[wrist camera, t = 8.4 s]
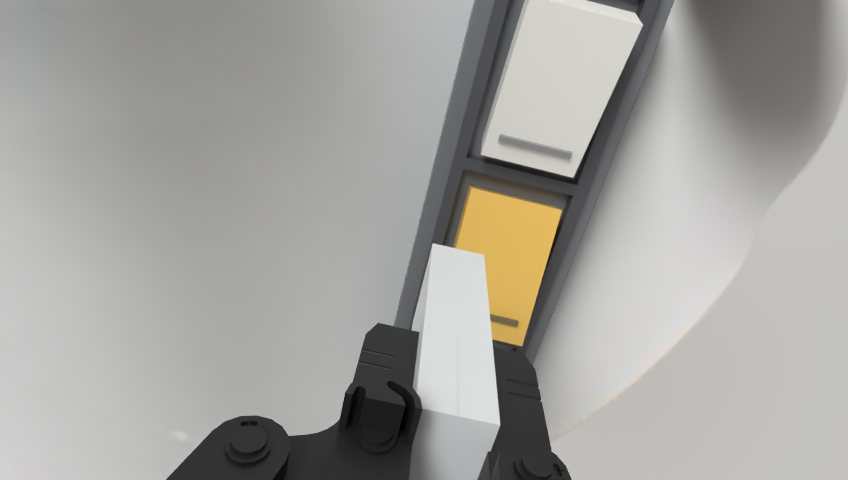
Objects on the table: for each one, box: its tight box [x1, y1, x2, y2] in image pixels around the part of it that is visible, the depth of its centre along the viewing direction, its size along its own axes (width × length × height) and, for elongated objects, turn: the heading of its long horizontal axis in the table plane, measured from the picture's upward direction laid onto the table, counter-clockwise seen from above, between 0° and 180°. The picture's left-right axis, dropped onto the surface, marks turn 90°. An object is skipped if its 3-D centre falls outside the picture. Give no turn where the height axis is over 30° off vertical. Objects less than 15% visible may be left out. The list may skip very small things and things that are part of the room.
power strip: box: [394, 0, 674, 364], centre depth 31 cm, size 34×9×5 cm, turn 167°
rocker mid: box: [453, 185, 562, 346], centre depth 29 cm, size 8×5×2 cm, turn 167°
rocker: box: [481, 0, 643, 178], centre depth 25 cm, size 8×5×2 cm, turn 166°
